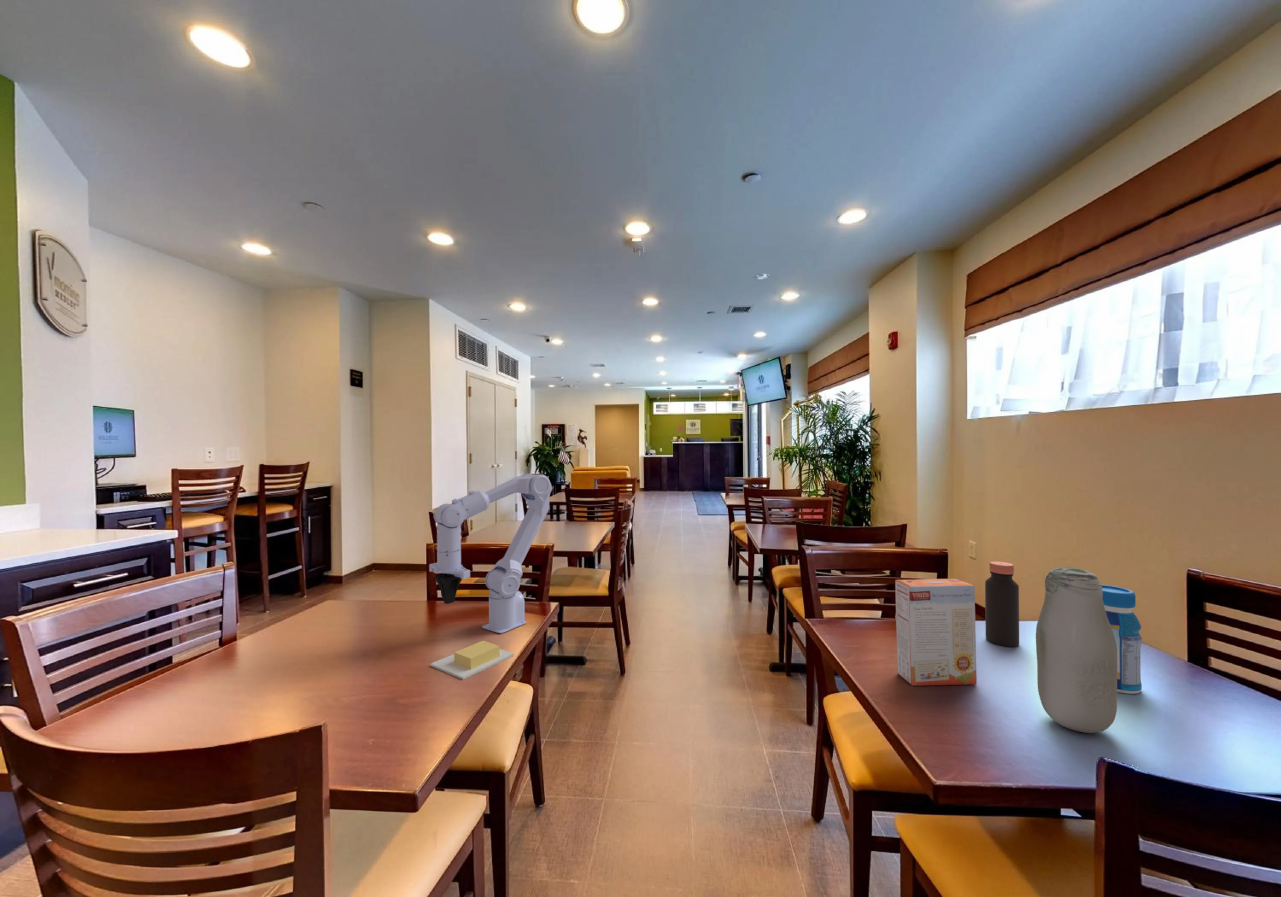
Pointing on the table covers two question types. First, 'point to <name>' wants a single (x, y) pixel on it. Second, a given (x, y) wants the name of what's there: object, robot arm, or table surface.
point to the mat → (463, 672)
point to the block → (476, 654)
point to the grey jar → (1076, 652)
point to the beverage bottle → (1124, 636)
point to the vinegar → (1002, 605)
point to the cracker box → (936, 631)
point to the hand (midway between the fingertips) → (449, 602)
